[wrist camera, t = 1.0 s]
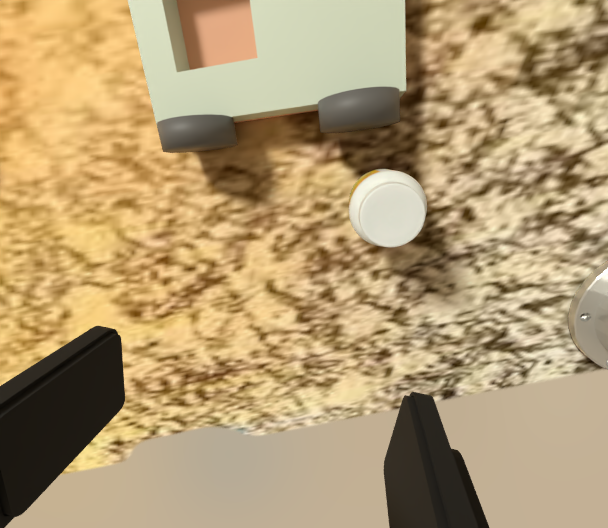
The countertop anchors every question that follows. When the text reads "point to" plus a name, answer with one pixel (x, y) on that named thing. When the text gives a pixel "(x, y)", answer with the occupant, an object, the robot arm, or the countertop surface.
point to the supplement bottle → (387, 207)
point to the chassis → (269, 64)
